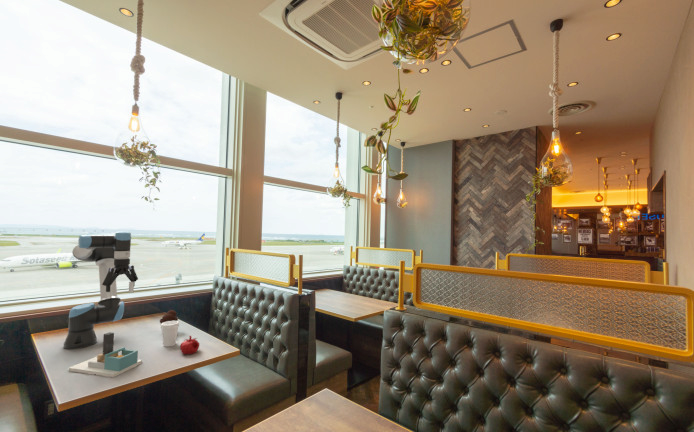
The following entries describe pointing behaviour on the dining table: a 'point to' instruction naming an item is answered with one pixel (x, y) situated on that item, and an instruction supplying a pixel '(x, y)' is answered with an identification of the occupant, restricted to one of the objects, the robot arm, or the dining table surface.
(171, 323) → the foam cup
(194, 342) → the pomegranate
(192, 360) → the dining table surface
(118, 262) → the robot arm
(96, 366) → the board
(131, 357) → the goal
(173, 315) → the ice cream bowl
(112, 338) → the block
